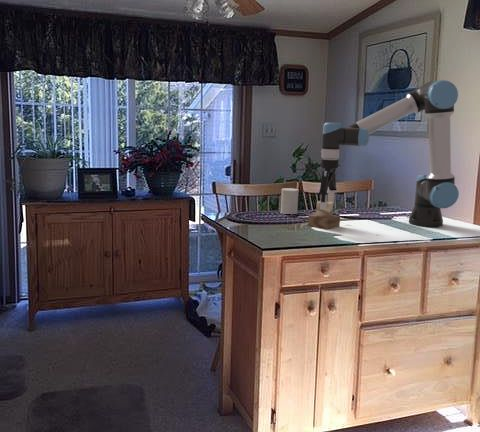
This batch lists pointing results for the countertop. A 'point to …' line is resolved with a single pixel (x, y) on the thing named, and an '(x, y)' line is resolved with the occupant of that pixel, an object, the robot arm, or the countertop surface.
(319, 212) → the maple cube
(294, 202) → the cup
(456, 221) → the countertop surface
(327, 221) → the walnut block
